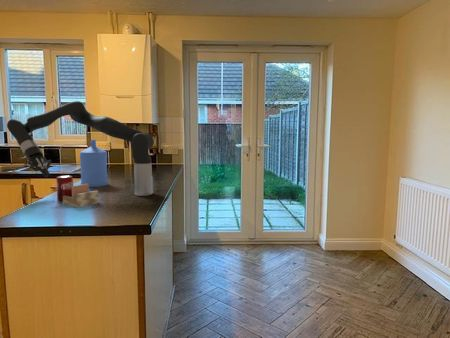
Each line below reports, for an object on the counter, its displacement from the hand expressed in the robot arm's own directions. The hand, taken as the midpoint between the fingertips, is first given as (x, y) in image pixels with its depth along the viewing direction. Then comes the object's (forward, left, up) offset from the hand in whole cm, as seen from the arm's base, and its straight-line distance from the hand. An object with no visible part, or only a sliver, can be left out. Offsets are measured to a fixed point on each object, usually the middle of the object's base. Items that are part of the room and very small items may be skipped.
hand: (47, 175), depth 167 cm
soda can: (0, +14, -11) cm, 18 cm away
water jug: (-36, -9, -11) cm, 39 cm away
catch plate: (0, +25, -11) cm, 27 cm away
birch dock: (0, +25, -11) cm, 27 cm away
